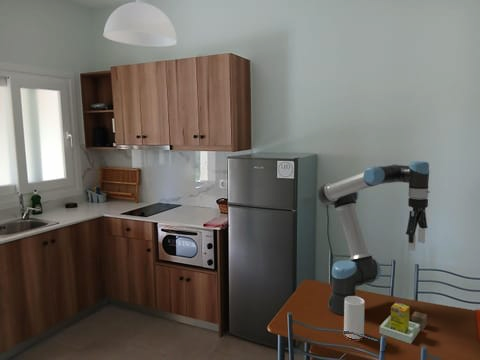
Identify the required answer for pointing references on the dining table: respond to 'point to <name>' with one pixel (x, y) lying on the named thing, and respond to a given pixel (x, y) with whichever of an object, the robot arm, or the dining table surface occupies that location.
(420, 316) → the walnut block
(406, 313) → the supplement box
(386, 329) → the tray
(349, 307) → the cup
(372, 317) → the dining table surface
